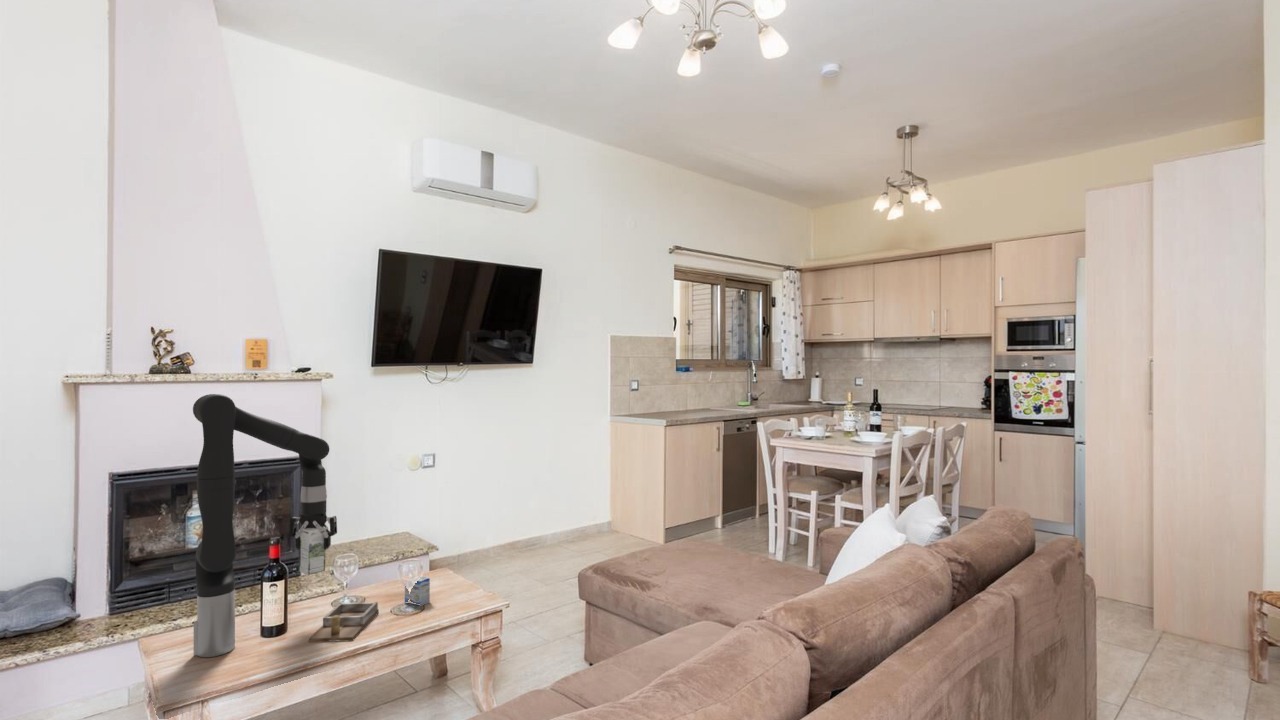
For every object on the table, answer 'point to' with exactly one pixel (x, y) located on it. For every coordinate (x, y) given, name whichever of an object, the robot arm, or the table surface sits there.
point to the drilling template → (345, 621)
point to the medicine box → (419, 592)
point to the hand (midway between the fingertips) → (313, 548)
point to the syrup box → (312, 551)
